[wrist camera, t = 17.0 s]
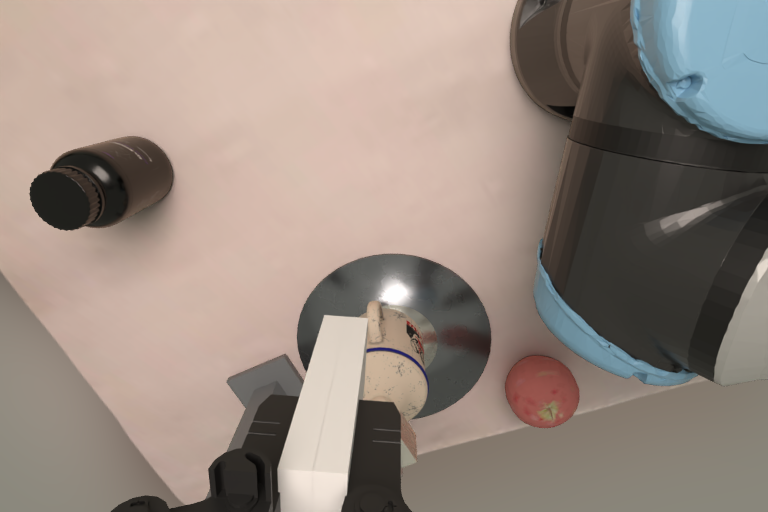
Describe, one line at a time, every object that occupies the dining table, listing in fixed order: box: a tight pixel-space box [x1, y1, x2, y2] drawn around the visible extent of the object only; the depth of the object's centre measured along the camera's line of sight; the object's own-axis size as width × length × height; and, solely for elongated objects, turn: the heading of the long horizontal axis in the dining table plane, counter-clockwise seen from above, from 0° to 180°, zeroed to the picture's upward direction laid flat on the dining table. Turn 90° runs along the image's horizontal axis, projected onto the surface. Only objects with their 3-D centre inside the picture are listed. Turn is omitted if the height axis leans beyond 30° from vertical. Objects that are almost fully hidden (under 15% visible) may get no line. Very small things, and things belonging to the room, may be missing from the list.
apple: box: [505, 356, 579, 428], centre depth 51 cm, size 7×7×8 cm
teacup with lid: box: [359, 301, 429, 421], centre depth 48 cm, size 12×9×12 cm
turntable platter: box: [297, 254, 491, 419], centre depth 54 cm, size 22×22×1 cm
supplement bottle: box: [30, 136, 172, 231], centre depth 42 cm, size 7×7×12 cm
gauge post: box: [206, 354, 304, 499], centre depth 50 cm, size 8×8×17 cm
